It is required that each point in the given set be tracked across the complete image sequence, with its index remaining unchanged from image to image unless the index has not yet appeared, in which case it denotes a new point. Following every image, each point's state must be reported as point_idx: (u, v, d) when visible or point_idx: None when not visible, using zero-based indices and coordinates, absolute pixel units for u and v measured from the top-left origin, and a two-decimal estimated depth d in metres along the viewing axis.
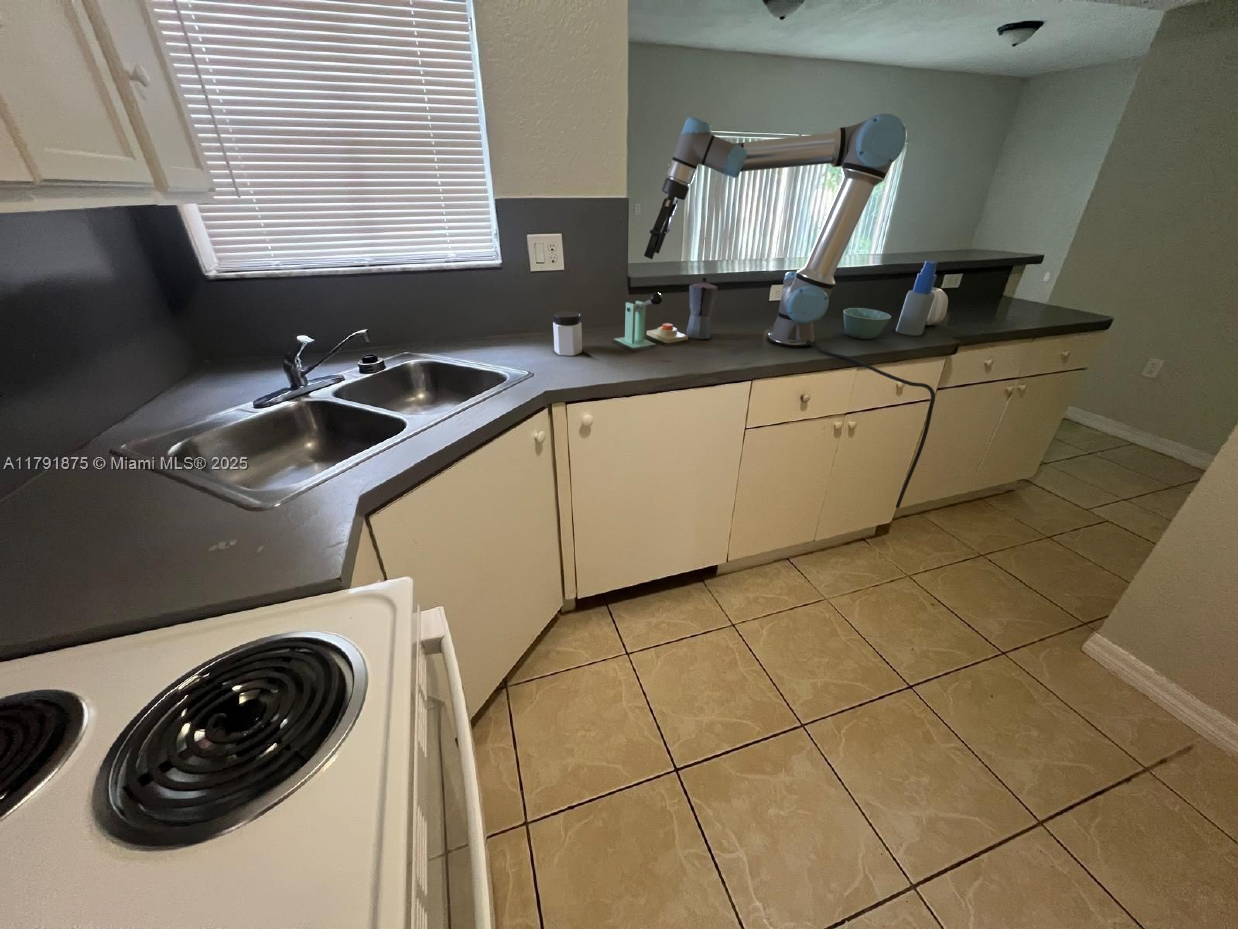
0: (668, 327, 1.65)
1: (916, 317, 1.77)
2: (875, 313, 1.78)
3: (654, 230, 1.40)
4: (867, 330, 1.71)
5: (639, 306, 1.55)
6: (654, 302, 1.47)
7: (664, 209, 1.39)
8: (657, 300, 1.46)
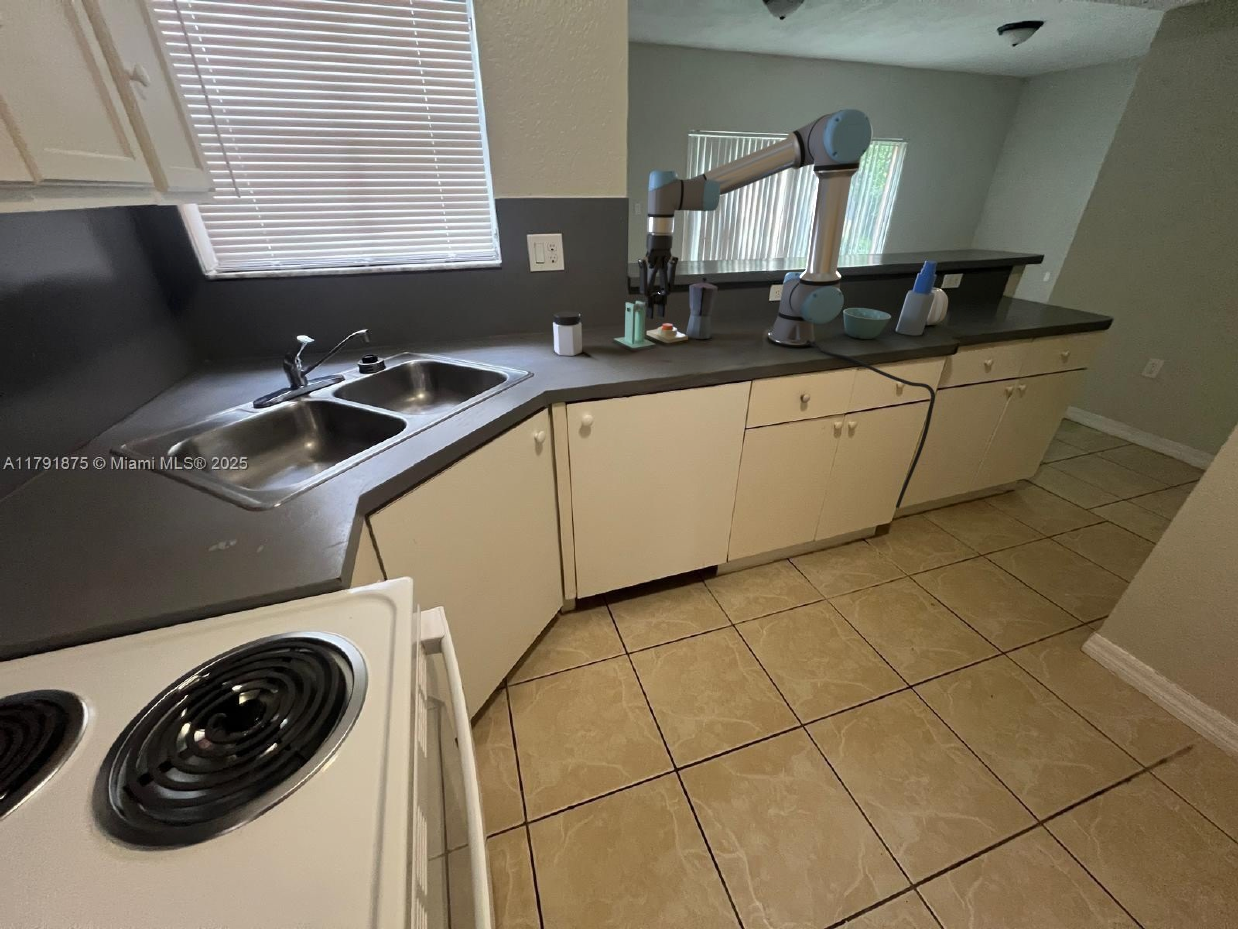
0: (668, 327, 1.65)
1: (916, 317, 1.77)
2: (875, 313, 1.78)
3: (640, 292, 1.44)
4: (867, 330, 1.71)
5: (639, 306, 1.55)
6: (654, 302, 1.47)
7: (641, 270, 1.40)
8: (657, 300, 1.46)
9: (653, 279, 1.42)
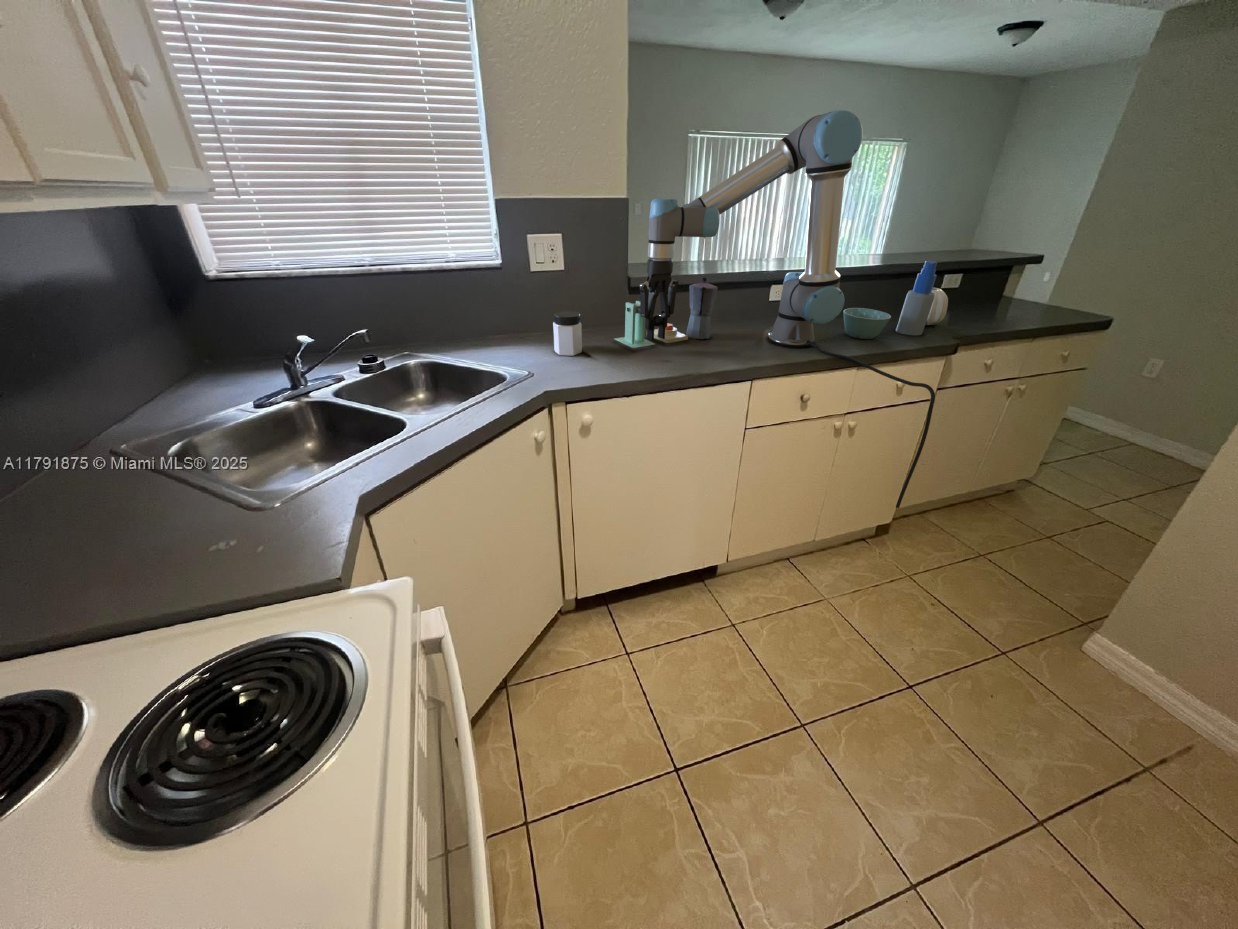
0: (668, 327, 1.65)
1: (916, 317, 1.77)
2: (875, 313, 1.78)
3: (641, 315, 1.47)
4: (867, 330, 1.71)
5: (639, 312, 1.56)
6: None
7: (642, 294, 1.43)
8: (657, 324, 1.49)
9: (654, 303, 1.45)
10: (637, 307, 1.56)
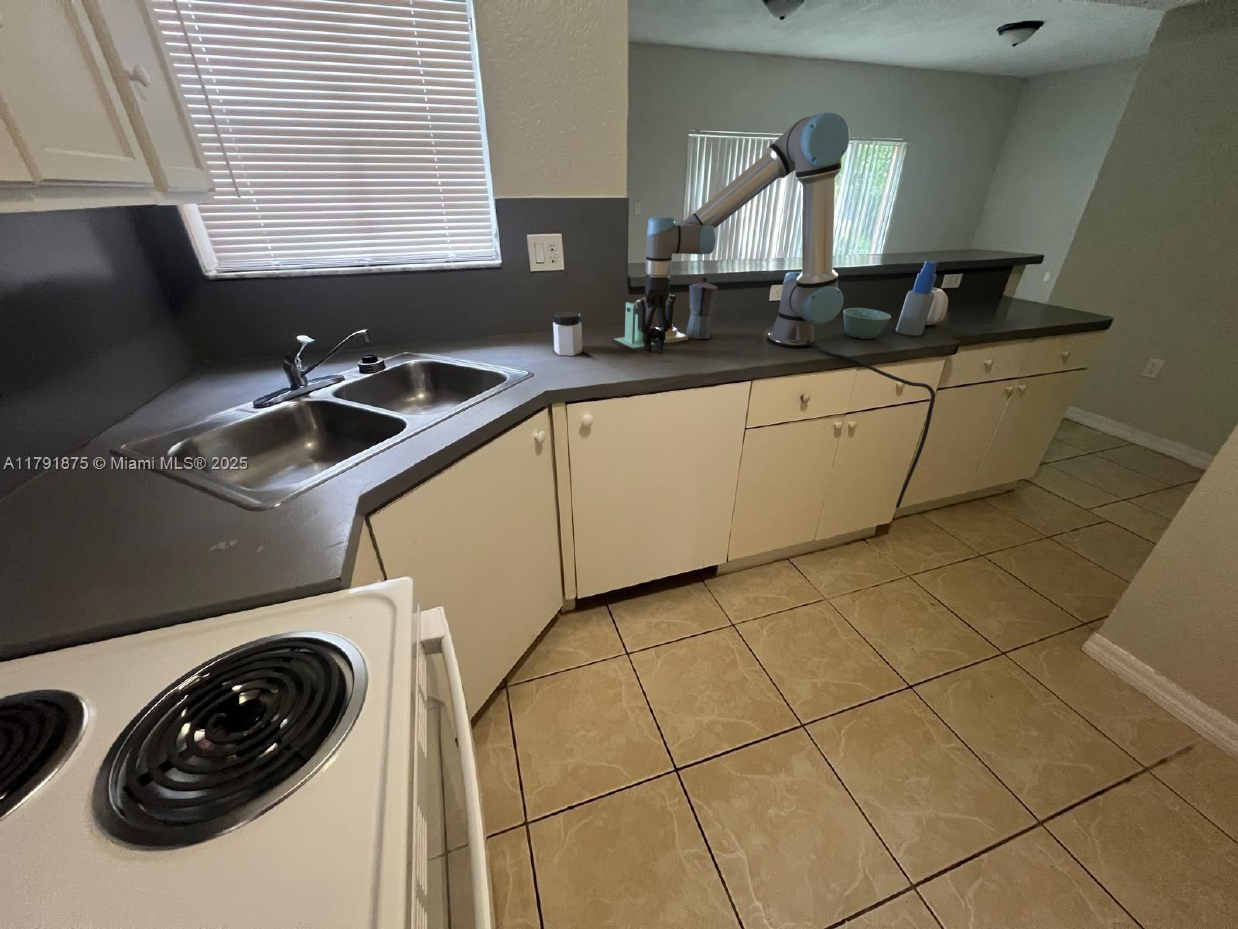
0: None
1: (916, 317, 1.77)
2: (875, 313, 1.78)
3: (639, 330, 1.50)
4: (867, 330, 1.71)
5: None
6: None
7: (639, 309, 1.46)
8: (653, 338, 1.53)
9: (651, 317, 1.48)
10: (637, 309, 1.56)
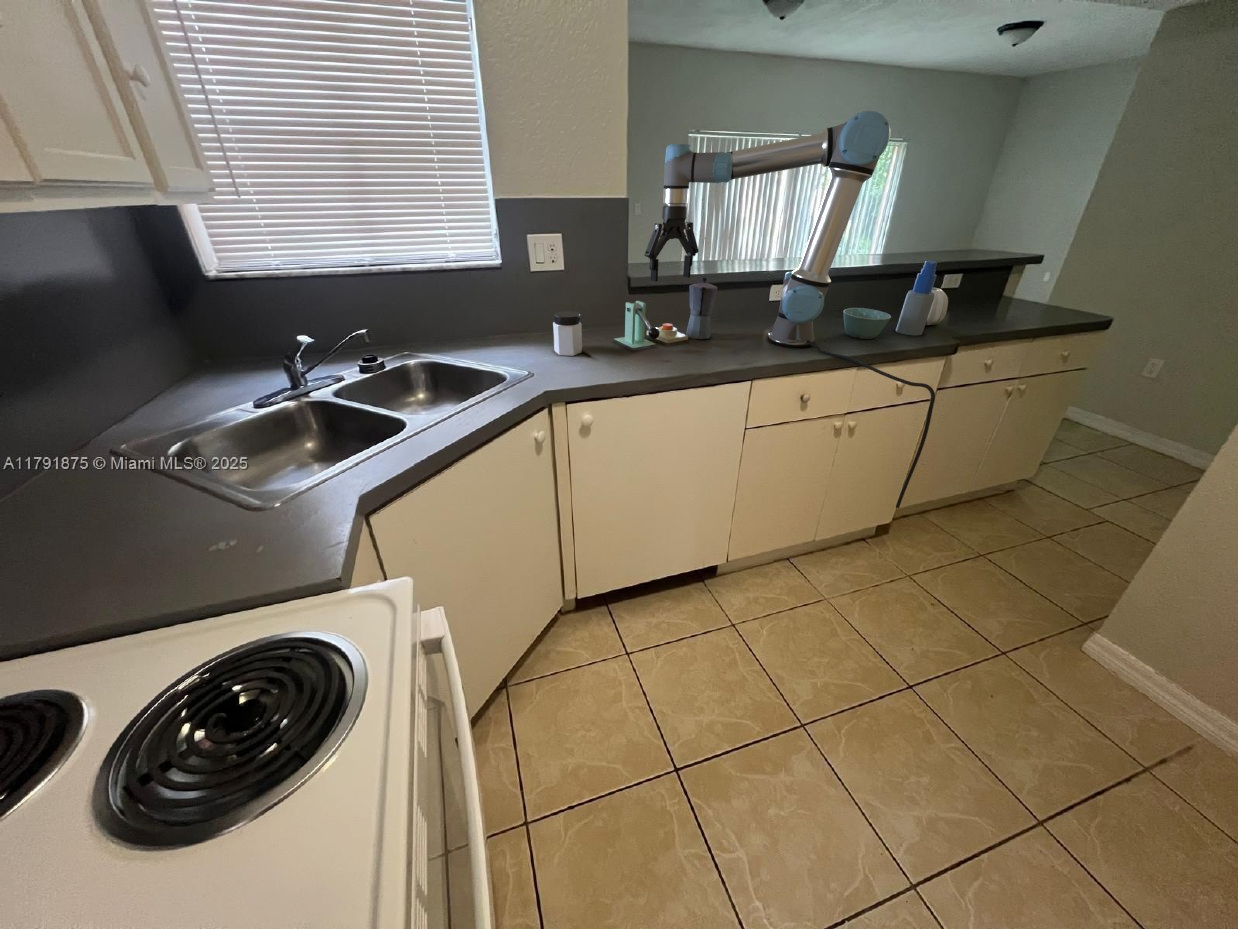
0: (668, 327, 1.65)
1: (916, 317, 1.77)
2: (875, 313, 1.78)
3: (645, 254, 1.49)
4: (867, 330, 1.71)
5: (638, 315, 1.56)
6: (650, 337, 1.53)
7: (654, 233, 1.47)
8: (653, 338, 1.53)
9: (662, 244, 1.49)
10: (637, 309, 1.56)
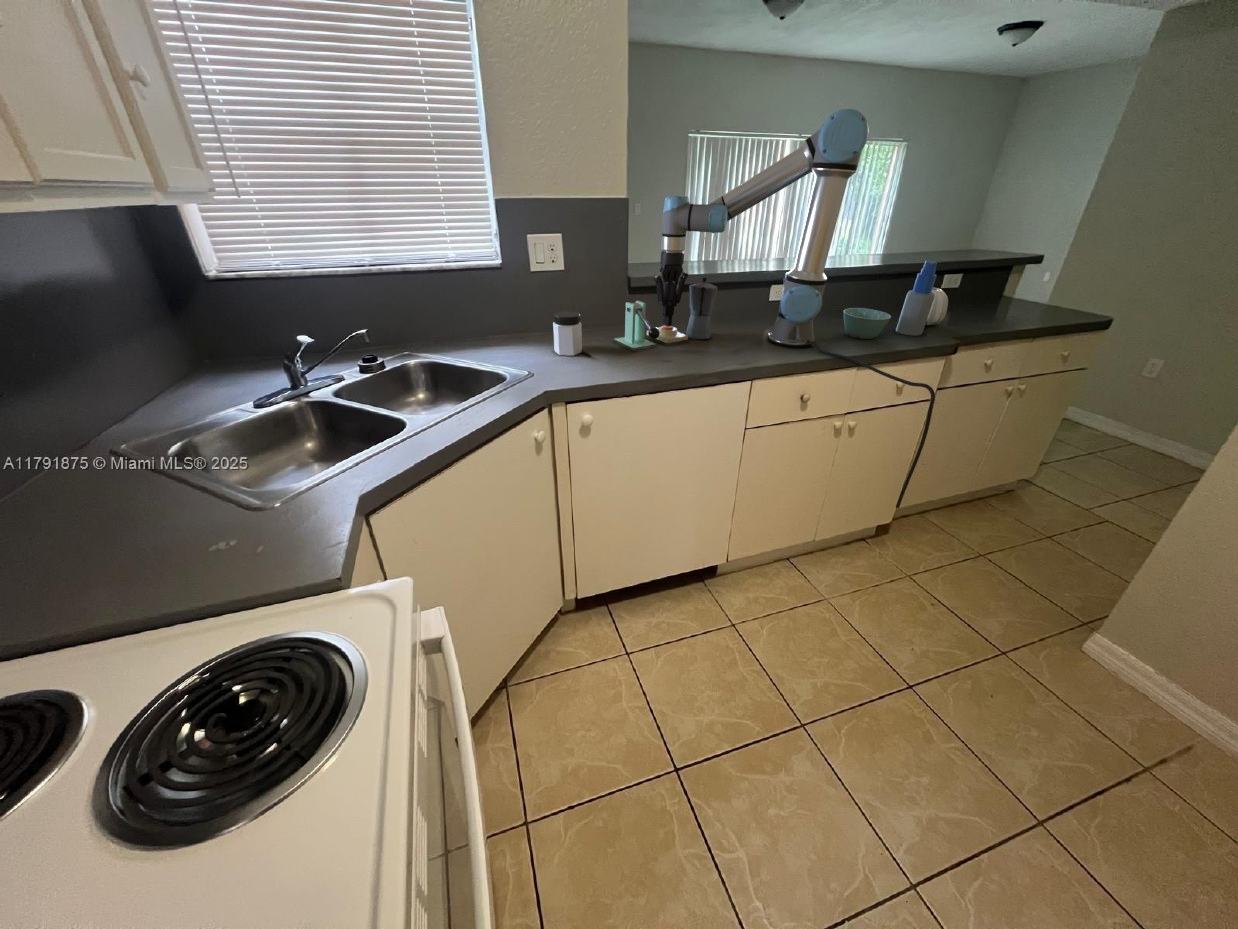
0: (668, 328, 1.66)
1: (916, 317, 1.77)
2: (875, 313, 1.78)
3: (659, 303, 1.62)
4: (867, 330, 1.71)
5: (638, 315, 1.56)
6: (650, 337, 1.53)
7: (657, 284, 1.57)
8: (653, 338, 1.53)
9: (669, 291, 1.59)
10: (637, 309, 1.56)
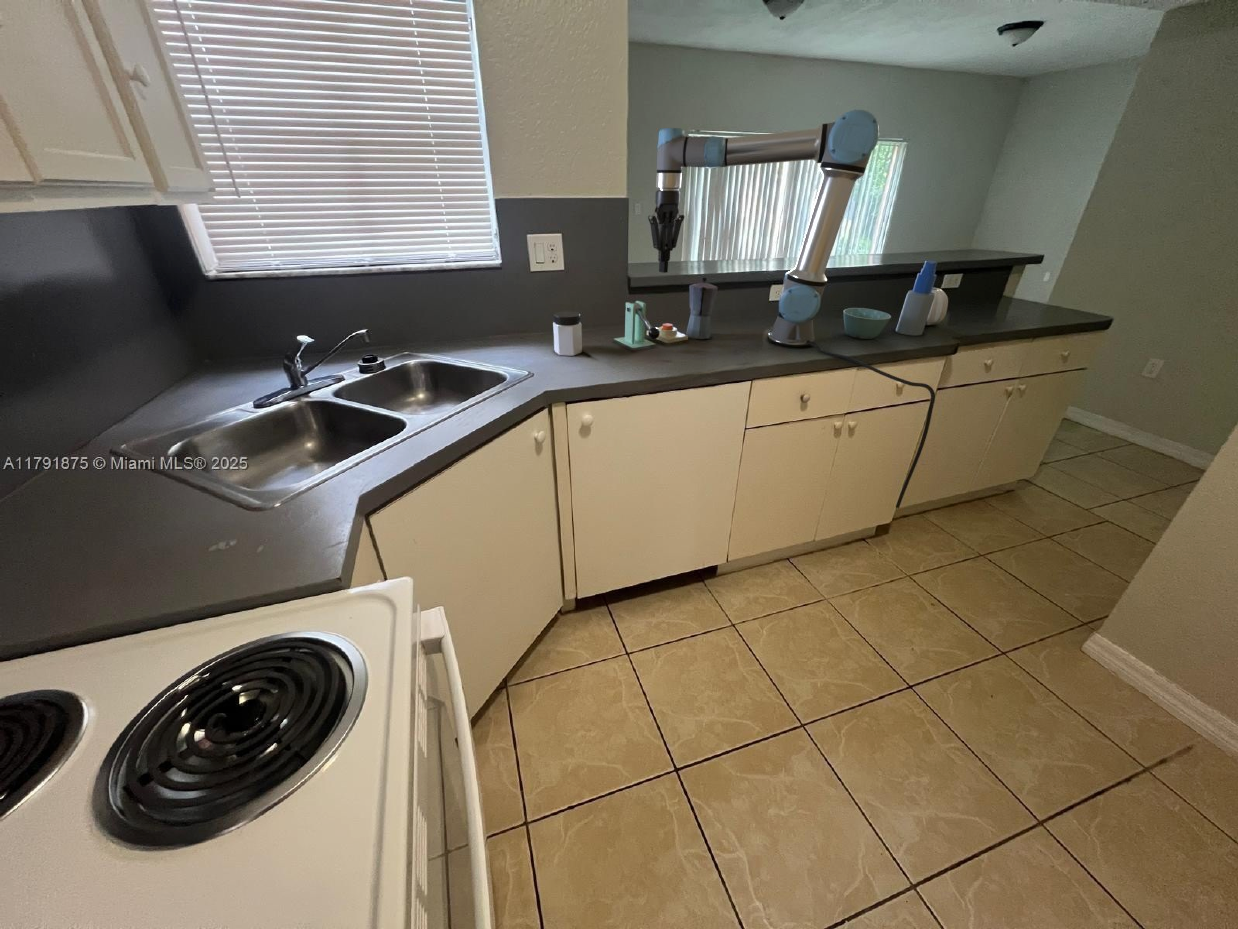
0: (668, 327, 1.65)
1: (916, 317, 1.77)
2: (875, 313, 1.78)
3: (654, 247, 1.55)
4: (867, 330, 1.71)
5: (638, 315, 1.56)
6: (650, 337, 1.53)
7: (652, 226, 1.50)
8: (653, 338, 1.53)
9: (664, 234, 1.52)
10: (637, 309, 1.56)
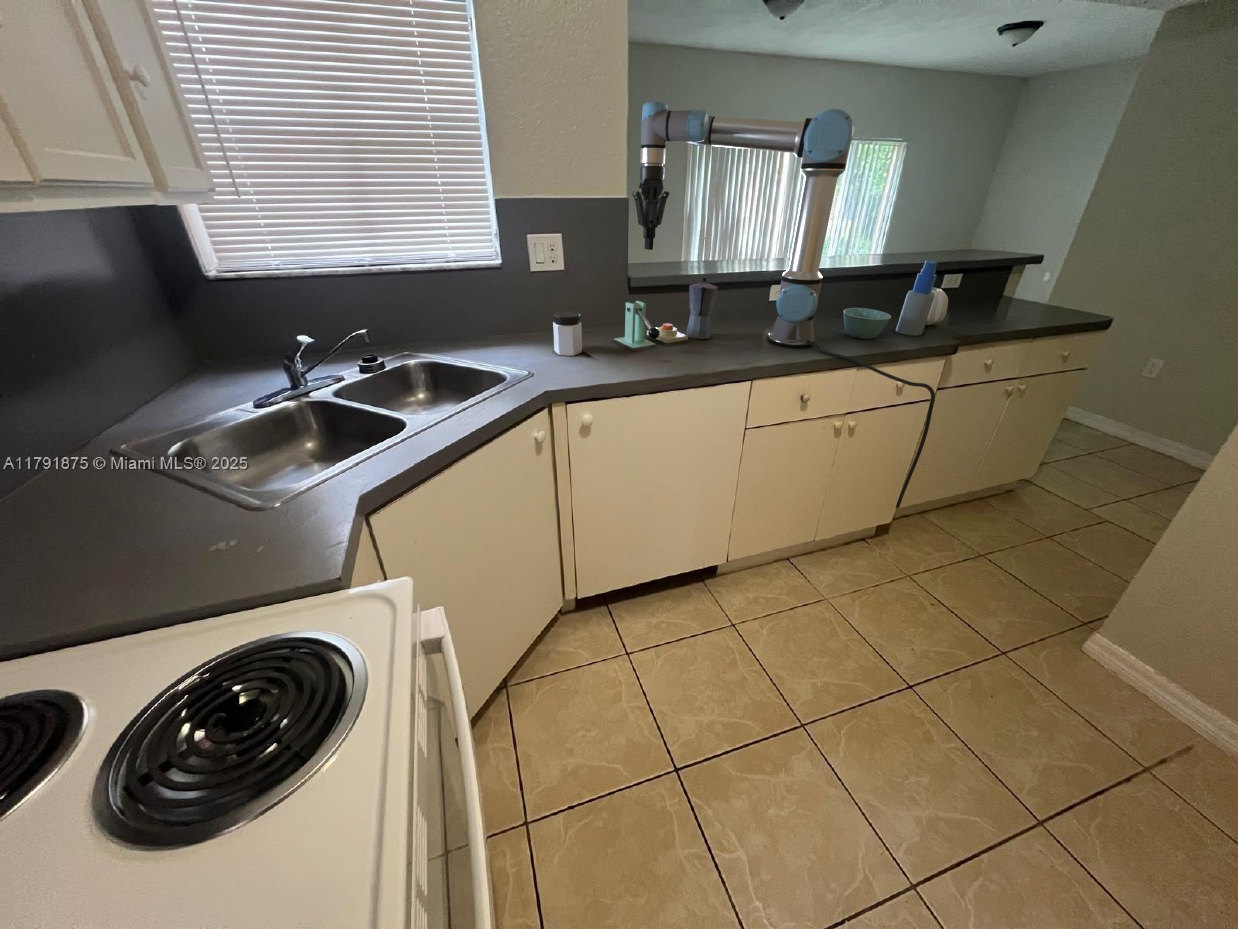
0: (668, 327, 1.65)
1: (916, 317, 1.77)
2: (875, 313, 1.78)
3: (639, 223, 1.55)
4: (867, 330, 1.71)
5: (638, 315, 1.56)
6: (650, 337, 1.53)
7: (637, 202, 1.51)
8: (653, 338, 1.53)
9: (649, 210, 1.53)
10: (637, 309, 1.56)
